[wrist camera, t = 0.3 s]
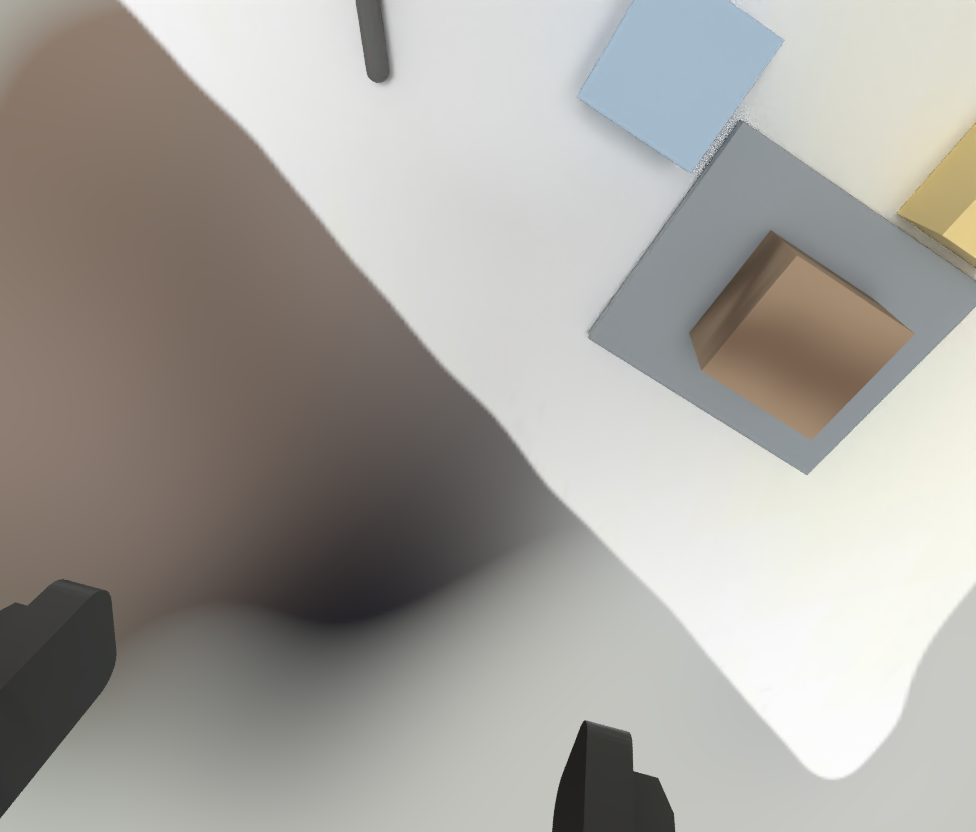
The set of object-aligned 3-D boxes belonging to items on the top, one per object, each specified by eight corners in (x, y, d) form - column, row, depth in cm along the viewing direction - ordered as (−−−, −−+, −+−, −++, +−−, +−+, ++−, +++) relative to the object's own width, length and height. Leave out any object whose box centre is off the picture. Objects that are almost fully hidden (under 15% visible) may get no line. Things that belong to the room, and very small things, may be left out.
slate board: (739, 120, 32) (743, 121, 31) (980, 285, 33) (990, 291, 32) (588, 331, 37) (588, 338, 36) (802, 465, 39) (806, 475, 38)
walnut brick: (770, 230, 33) (797, 255, 28) (873, 298, 33) (915, 333, 29) (689, 332, 35) (701, 370, 31) (785, 394, 36) (811, 440, 31)
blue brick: (652, -30, 30) (661, -47, 25) (757, 44, 30) (784, 40, 26) (579, 93, 32) (576, 97, 28) (678, 159, 33) (690, 173, 28)
